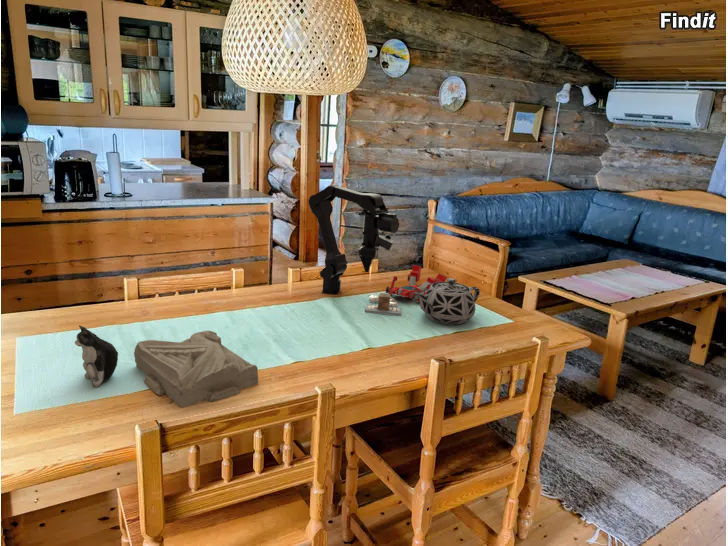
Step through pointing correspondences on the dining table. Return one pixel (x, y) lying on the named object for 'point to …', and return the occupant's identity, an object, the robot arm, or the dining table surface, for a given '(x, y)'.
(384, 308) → the block
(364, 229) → the robot arm
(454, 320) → the teapot
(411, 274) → the toy robot
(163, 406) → the dining table surface
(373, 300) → the tealight
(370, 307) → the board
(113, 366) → the figurine
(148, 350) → the sculpture
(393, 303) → the tealight
